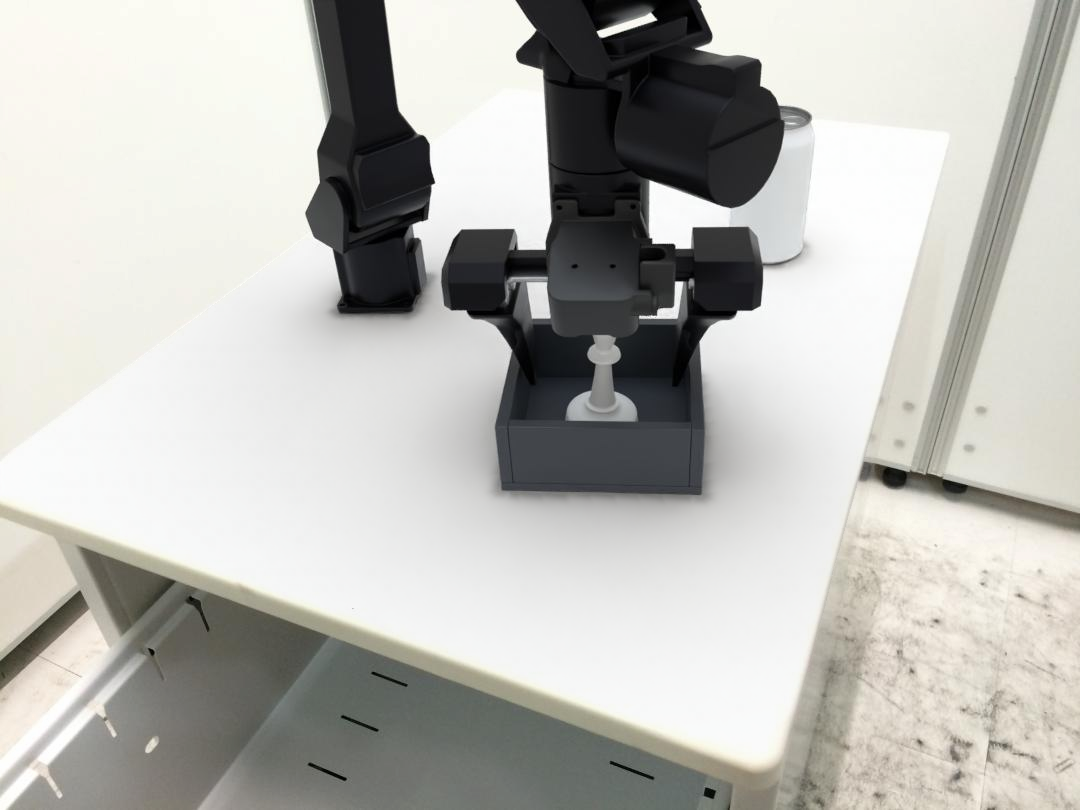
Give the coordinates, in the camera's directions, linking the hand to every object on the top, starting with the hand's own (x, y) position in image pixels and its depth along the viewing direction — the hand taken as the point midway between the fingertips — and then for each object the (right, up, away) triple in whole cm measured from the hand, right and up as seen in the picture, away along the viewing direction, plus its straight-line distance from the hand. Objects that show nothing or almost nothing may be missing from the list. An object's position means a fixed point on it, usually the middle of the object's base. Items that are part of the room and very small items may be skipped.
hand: (603, 382), depth 62 cm
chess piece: (0, -3, +2) cm, 3 cm away
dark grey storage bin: (0, -3, +2) cm, 4 cm away
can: (+16, +12, +22) cm, 30 cm away
